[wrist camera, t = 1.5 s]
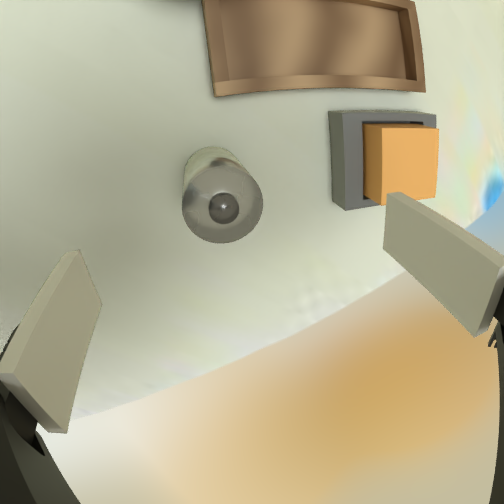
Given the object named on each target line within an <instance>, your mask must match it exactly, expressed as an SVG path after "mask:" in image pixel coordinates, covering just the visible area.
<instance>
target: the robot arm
mask: <svg viewBox="0 0 504 504" xmlns="http://www.w3.org/2000/svg"><path fill="white" fill-rule="evenodd" d="M383 249H384V250H385V251H386V252H387V253H388V254H389V255H390V256H392V257H393V258H394V259H395V260H396V261H397V262H398V263H399V264H400V265H401V266H403V267H404V268H405V269H406V270H407V271H408V272H409V273H410V274H411V275H412V276H413V277H415V279H417V280H418V281H419V282H420V283H421V284H422V285H423V286H424V287H425V288H426V289H427V290H428V291H429V292H430V293H431V294H432V295H433V296H434V297H435V298H436V299H437V300H438V301H440V303H441V304H442V305H443V306H444V307H445V308H446V309H447V310H448V311H449V312H450V313H451V314H452V315H453V316H454V317H455V318H456V319H457V320H458V321H459V322H460V323H461V324H462V325H463V326H464V327H465V328H466V329H467V331H468V332H470V333H471V335H472V336H473V337H477V336H478V335H480V334H482V333H484V332H485V331H487V330H488V328H489V325H490V323H491V321H492V318H493V316H494V317H495V318H496V319H497V320H498V323H497V325H496V327H495V329H494V332H493V334H492V336H491V338H490V340H489V343H488V347H491V344H492V343H493V341H494V340H496V341H497V342H496V344H495V346H494V348H497V351H498V363H499V381H500V382H499V383H500V420H499V421H500V422H499V438H498V450H497V460H496V467H495V474H494V481H493V487H492V493H491V498H490V502H489V504H504V256H503V255H502V254H500V253H499V252H497V251H496V250H494V249H493V248H492V247H490V246H489V245H487V244H486V243H484V242H483V241H482V240H480V239H479V238H477V237H475V236H474V235H472V234H471V233H469V232H468V231H466V230H465V229H463V228H462V227H460V226H458V225H457V224H455V223H454V222H452V221H450V220H449V219H447V218H445V217H444V216H442V215H440V214H439V213H437V212H435V211H434V210H432V209H430V208H429V207H427V206H425V205H423V204H422V203H420V202H418V201H416V200H414V199H413V198H411V197H409V196H407V195H405V194H403V193H402V192H394V193H387V198H386V217H385V231H384V243H383ZM101 306H102V303H101V301H100V298H99V296H98V294H97V292H96V289H95V287H94V285H93V282H92V280H91V277H90V275H89V272H88V270H87V267H86V265H85V262H84V260H83V257H82V255H81V252H80V250H77V251H72V252H68V253H65V254H64V255H63V256H62V258H61V259H60V261H59V262H58V264H57V265H56V267H55V268H54V270H53V271H52V273H51V274H50V276H49V277H48V279H47V280H46V282H45V283H44V285H43V286H42V288H41V289H40V291H39V293H38V294H37V296H36V297H35V299H34V301H33V302H32V304H31V306H30V307H29V309H28V311H27V312H26V314H25V316H24V318H23V319H22V321H21V323H20V324H19V325H18V326H17V327H16V328H15V329H14V331H13V332H12V334H11V336H10V338H9V339H8V341H7V342H8V343H7V344H6V345H5V347H4V349H3V352H2V353H1V355H0V504H80V502H79V501H78V499H77V498H76V496H75V495H74V493H73V492H72V490H71V489H70V487H69V486H68V484H67V482H66V481H65V479H64V477H63V476H62V474H61V472H60V471H59V469H58V467H57V465H56V464H55V462H54V460H53V458H52V456H51V454H50V453H49V451H48V449H47V447H46V445H45V443H44V441H43V439H42V437H41V436H40V435H39V433H38V432H37V431H36V426H37V422H38V423H39V424H40V425H41V426H42V427H43V428H44V429H45V430H46V431H47V432H51V433H67V431H68V426H69V421H70V416H71V411H72V407H73V402H74V398H75V394H76V390H77V386H78V382H79V378H80V374H81V371H82V367H83V364H84V360H85V356H86V353H87V350H88V346H89V343H90V340H91V337H92V333H93V330H94V327H95V324H96V321H97V318H98V315H99V312H100V309H101Z"/></svg>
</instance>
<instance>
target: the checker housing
mask: <svg viewBox="0 0 504 504" xmlns="http://www.w3.org/2000/svg"><path fill="white" fill-rule="evenodd" d="M328 113H329V127H330V143H331V164H332V196H333V202H334V203H336V204H337V205H338V206H340V207H341V208H342V209H344V210H345V211H347V210H353V209H359V208H365V207H371V206H377V205H379V204H378V203H376V202H374V201H373V200H371V199H370V198H368V197H366V196H365V195H363V137H362V124H367V123H412V124H419V125H424V126H429V127H433V128H436V115H434V114H429V113H423V112H412V111H382V110H353V111H328Z"/></svg>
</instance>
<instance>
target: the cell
mask: <svg viewBox="0 0 504 504" xmlns="http://www.w3.org/2000/svg"><path fill="white" fill-rule="evenodd" d="M262 209H263V198H262V193H261V190H260V188H259V186H258V184H257V183H256V181H255V180H254V179H253V178H252V177H251V175H250V174H249V173H248V172H247V171H246V169H245V168H244V167H243V166H242V165H241V163H240V162H239V161H238V160H237V159H236V157H235V156H234V155H233V154H232V153H231V152H229V151H228V150H226V149H224V148H221V147H206V148H203V149H201V150H199V151H197V152H196V153H194V154H193V155H192V156H191V158H190V159H189V160H188V162H187V164H186V167H185V174H184V186H183V200H182V211H183V216H184V219H185V222H186V224H187V225H188V227H189V228H190V229H191V231H192V232H193V233H194V234H195V235H197V236H198V237H200V238H202V239H203V240H206V241H209V242H213V243H229V242H233V241H236V240H239V239H241V238H242V237H244V236H246V235H247V234H248V233H249V232H250V231H252V229H253V228H254V227H255V226H256V224H257V223H258V221H259V219H260V216H261V214H262Z"/></svg>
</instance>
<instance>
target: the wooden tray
mask: <svg viewBox="0 0 504 504" xmlns="http://www.w3.org/2000/svg"><path fill="white" fill-rule="evenodd" d="M202 7H203V15H204V23H205V31H206V38H207V46H208V54H209V61H210V68H211V76H212V83H213V90H214V97H220V96H227V95H235V94H243V93H252V92H262V91H273V90H288V89H308V88H367V89H387V90H401V91H412V92H425V93H426V88H425V74H424V63H423V53H422V45H421V37H420V30H419V24H418V18H417V12H416V7H415V2H413V1H410V0H202Z"/></svg>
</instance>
